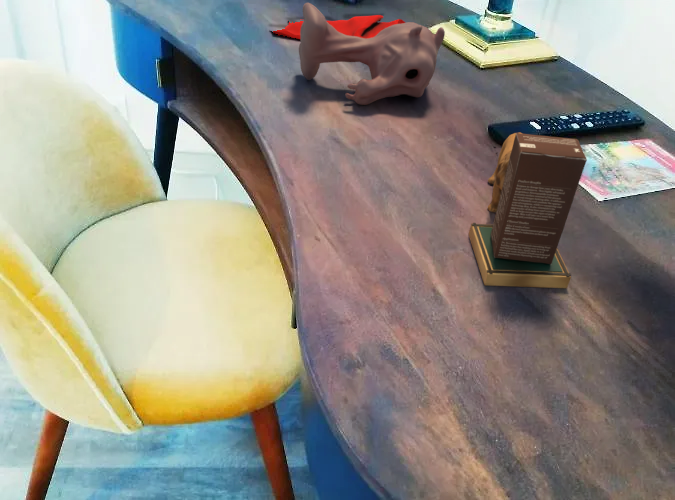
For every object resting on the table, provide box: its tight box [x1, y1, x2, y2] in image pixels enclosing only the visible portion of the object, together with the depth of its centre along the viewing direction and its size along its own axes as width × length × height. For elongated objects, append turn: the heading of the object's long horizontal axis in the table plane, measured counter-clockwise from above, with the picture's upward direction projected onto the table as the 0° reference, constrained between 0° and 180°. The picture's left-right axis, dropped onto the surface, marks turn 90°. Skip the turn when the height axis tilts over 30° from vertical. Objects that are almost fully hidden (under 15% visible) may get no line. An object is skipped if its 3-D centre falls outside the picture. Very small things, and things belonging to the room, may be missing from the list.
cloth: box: [273, 14, 407, 40], centre depth 115 cm, size 26×14×2 cm, turn 100°
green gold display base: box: [468, 222, 572, 289], centre depth 67 cm, size 8×8×2 cm
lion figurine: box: [487, 132, 523, 213], centre depth 74 cm, size 15×5×9 cm, turn 175°
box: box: [491, 132, 588, 264], centre depth 62 cm, size 6×4×12 cm
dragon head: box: [298, 2, 446, 106], centre depth 94 cm, size 14×13×20 cm
